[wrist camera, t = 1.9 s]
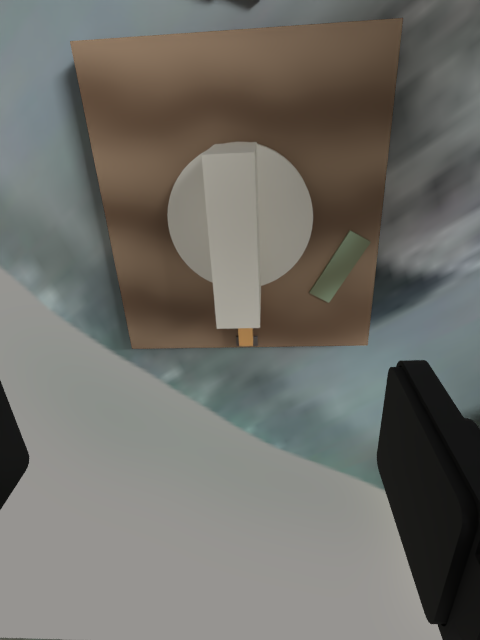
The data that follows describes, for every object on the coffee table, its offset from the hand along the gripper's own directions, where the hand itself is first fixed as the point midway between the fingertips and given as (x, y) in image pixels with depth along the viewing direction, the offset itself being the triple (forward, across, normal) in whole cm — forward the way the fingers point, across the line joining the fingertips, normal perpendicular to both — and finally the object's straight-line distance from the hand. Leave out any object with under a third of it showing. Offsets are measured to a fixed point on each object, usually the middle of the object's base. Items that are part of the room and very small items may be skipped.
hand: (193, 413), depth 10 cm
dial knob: (+19, 0, +2) cm, 19 cm away
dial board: (+22, 0, 0) cm, 22 cm away
